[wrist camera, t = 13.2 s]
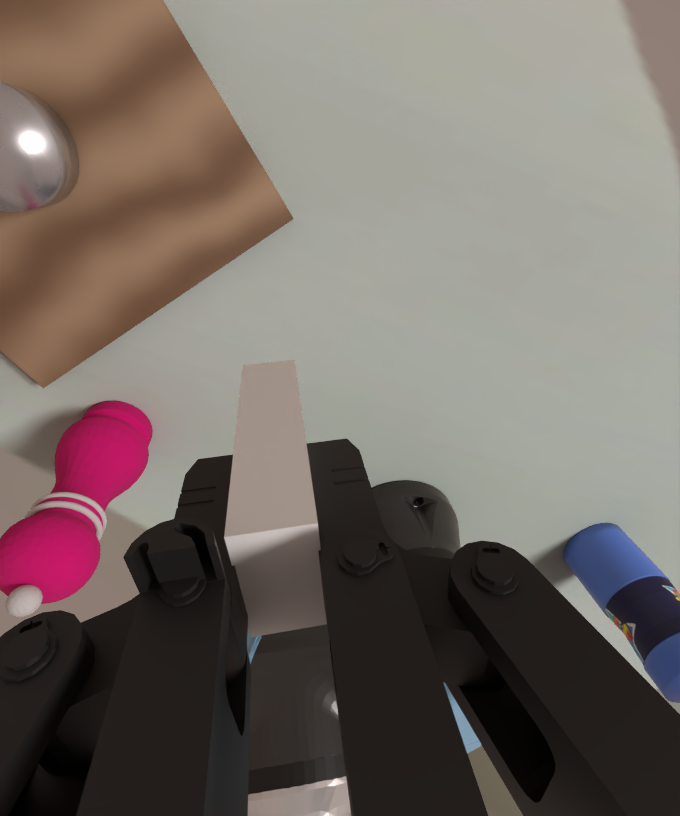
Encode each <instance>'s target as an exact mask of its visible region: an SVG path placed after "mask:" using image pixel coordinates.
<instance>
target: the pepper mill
mask: <svg viewBox="0 0 680 816" xmlns="http://www.w3.org/2000/svg"><path fill="white" fill-rule="evenodd" d="M151 438H152V426H151V423H150V421H149V419H148V418H147V416H146V415H145V414H144V413H143V412H142V411H141V410H139V409H138V408H136V407H134V406H133V405H130V404H128V403H124V402H120V401H106V402H102V403H99V404H96V405H94V406H93V407H91V408H90V409H89V410H88V411H87V412H86V414H85V415H84V417H83V418H82V419H81V420H80V421H78V422H76V423H74V424H73V425H72V426H71V427H69V428H68V429H67V430H66V431H65V433H64V434H63V436H62V438H61V440H60V442H59V443H58V446H57V449H56V454H55V473H56V484H55V486H54V488H53V490H52V492H51V493H50V494H47V495H45V496H43V497H41V498H40V499H38V500H37V501H36V502H35V503H34V504H33V506H32V508H31V510H30V511H29V512H28V513H27V515H26V516H25V519H23V520H21V521H19V522H17V523H16V524H14V525H13V526H11V527H10V528H9V529H8V530H7V531H6V532H5V533H4V534H3V535H2V537H1V538H0V590H1V591H2V592H4V593H5V594H6V595H7V596H8V598H7V600H6V609H7V611H8V612H9V613H10V614H11V615H13V616H15V617H24V616H27V615H30V614H32V613H33V612H35V611H36V610H37V609H38V608H39V606H40V604H44V603H51V602H56V601H59V600H62V599H64V598H67V597H69V596H70V595H72V594H74V593H75V592H77V591H78V590H79V589H80V588H81V587H83V586H84V585H85V584H86V582H87V581H88V580H89V579H90V578H91V576H92V575H93V573H94V571H95V569H96V567H97V565H98V562H99V559H100V543H99V540H100V539H101V536H102V533H103V531H104V530H105V527H106V524H107V518H106V515H105V512H104V511H105V509H106V507H107V505H108V504H109V503H110V501H111V500H113V499H114V498H115V497H117V496H118V495H120V494H121V493H123V492H124V491H126V490H127V489H129V488H130V487H131V486H132V485H133V484H134V483H135V482H136V481H137V480H138V479H139V477H140V476H141V475H142V473H143V471H144V469H145V467H146V465H147V462H148V456H149V453H148V446H149V443H150V441H151Z"/></svg>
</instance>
